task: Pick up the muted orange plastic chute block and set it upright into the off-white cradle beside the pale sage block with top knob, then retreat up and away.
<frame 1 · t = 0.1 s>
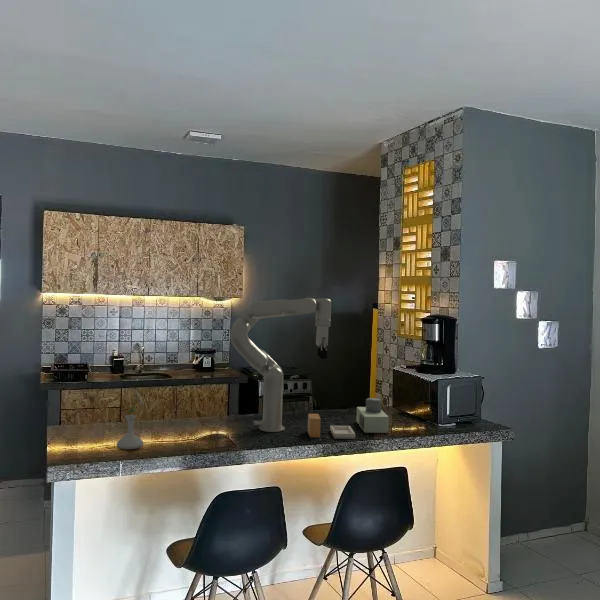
hand: (321, 357, 302), 37 cm above the worktop, fingers open, 9 cm apart
block with top knob: (371, 427, 314), on the worktop
chute block: (313, 434, 294), on the worktop
flower in vase: (131, 447, 261), on the worktop
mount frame: (342, 434, 295), on the worktop
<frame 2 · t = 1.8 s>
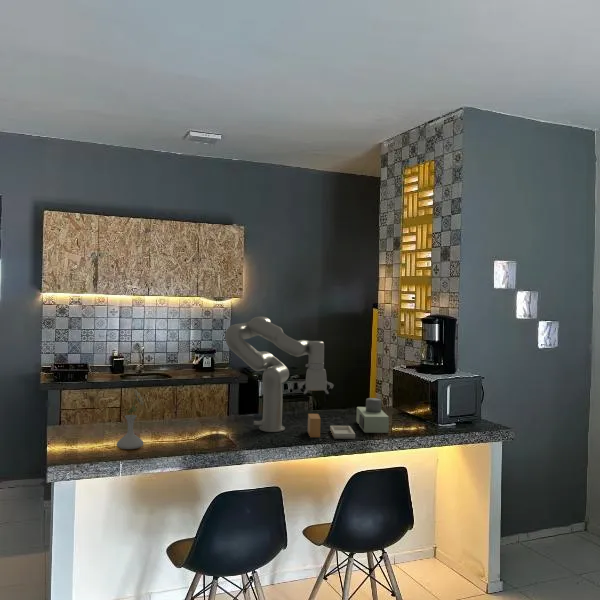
hand: (315, 401, 294), 16 cm above the worktop, fingers open, 9 cm apart
nothing on the worktop moved.
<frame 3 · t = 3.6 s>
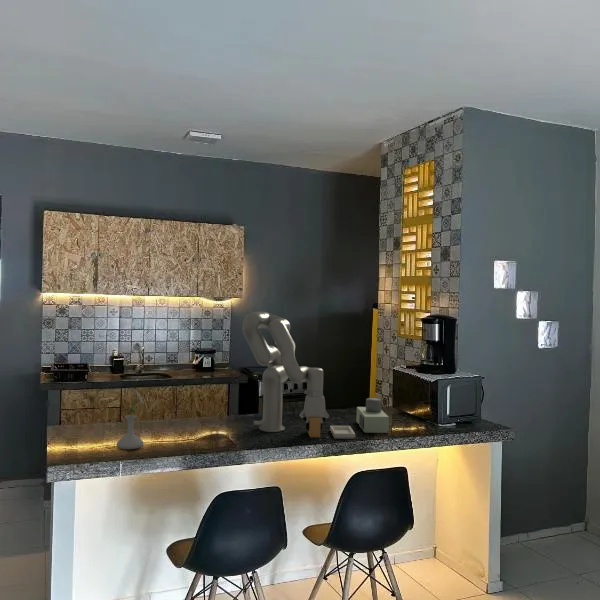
hand: (313, 430, 294), 2 cm above the worktop, fingers closed on chute block, 5 cm apart
chute block: (313, 434, 294), on the worktop, touching gripper
everything else where it was.
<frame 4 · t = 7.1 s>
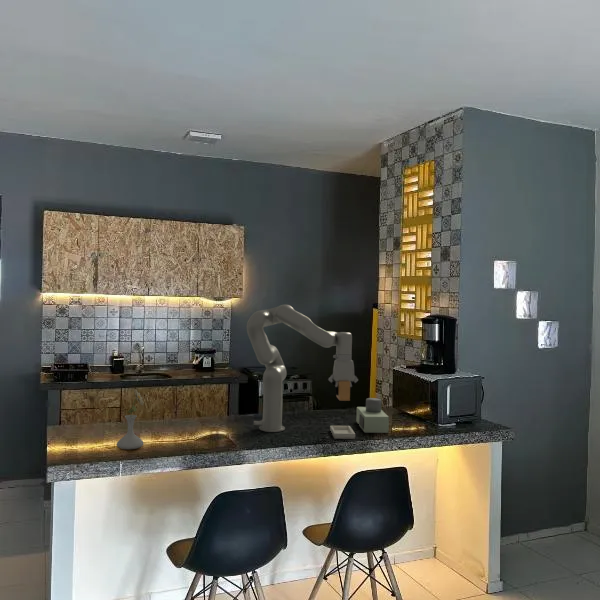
hand: (343, 394, 295), 20 cm above the worktop, fingers closed on chute block, 5 cm apart
chute block: (342, 398, 295), point 18 cm above the worktop, touching gripper
everything else where it was.
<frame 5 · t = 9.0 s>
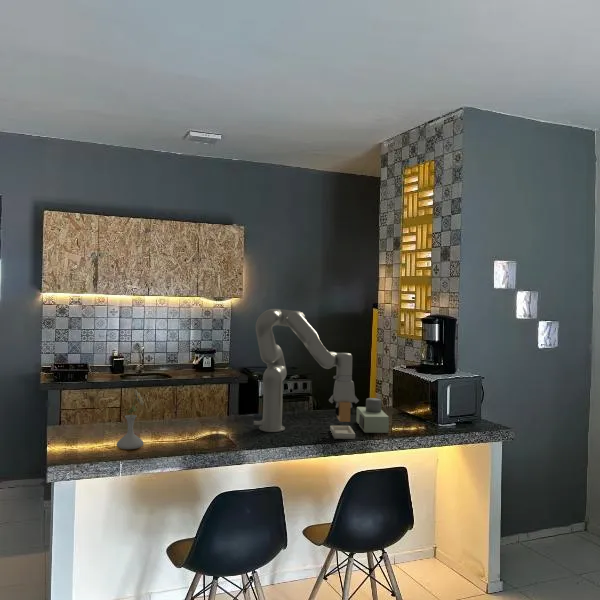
hand: (343, 415, 295), 10 cm above the worktop, fingers closed on chute block, 5 cm apart
chute block: (343, 419, 295), point 8 cm above the worktop, touching gripper
everything else where it was.
when the fingers open (4 cm above the worktop, at t = 10.5 s): chute block drops 1 cm, resting on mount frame.
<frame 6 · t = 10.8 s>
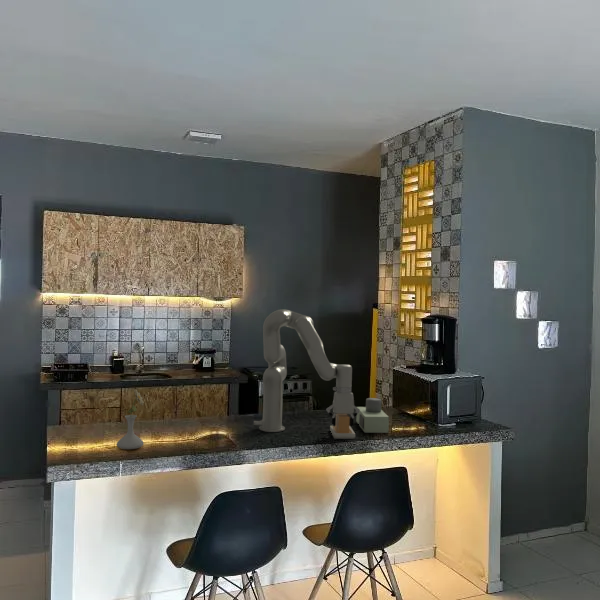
hand: (342, 425, 295), 4 cm above the worktop, fingers open, 7 cm apart
chute block: (342, 433, 295), point 1 cm above the worktop, touching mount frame
everything else where it was.
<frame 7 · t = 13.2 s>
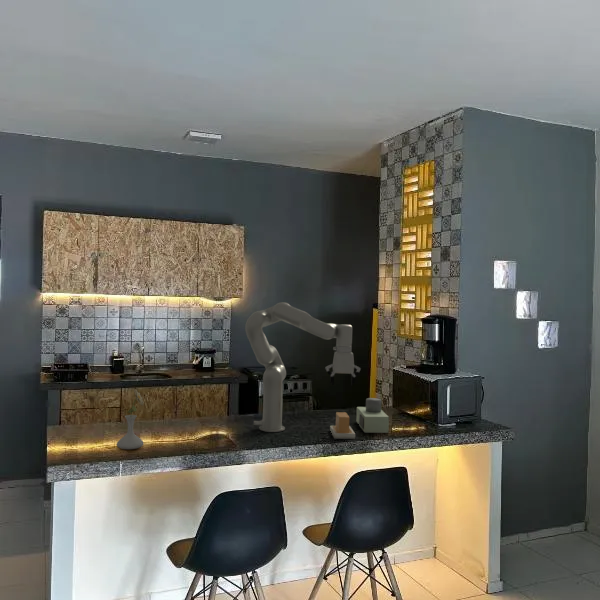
hand: (342, 384, 295), 24 cm above the worktop, fingers open, 9 cm apart
nothing on the worktop moved.
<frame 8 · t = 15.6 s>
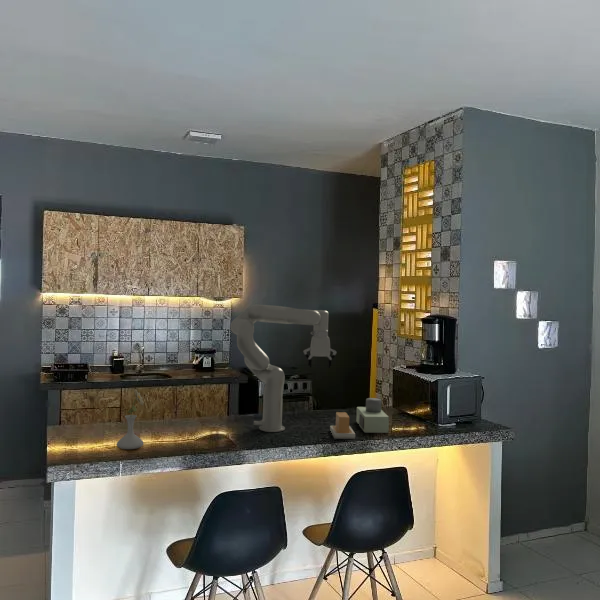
hand: (319, 367, 313), 30 cm above the worktop, fingers open, 9 cm apart
nothing on the worktop moved.
at the end: chute block 0.1 cm off-centre on the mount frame, point 0.8 cm above the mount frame's base; chute block tilted 0°; the gripper is holding nothing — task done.
